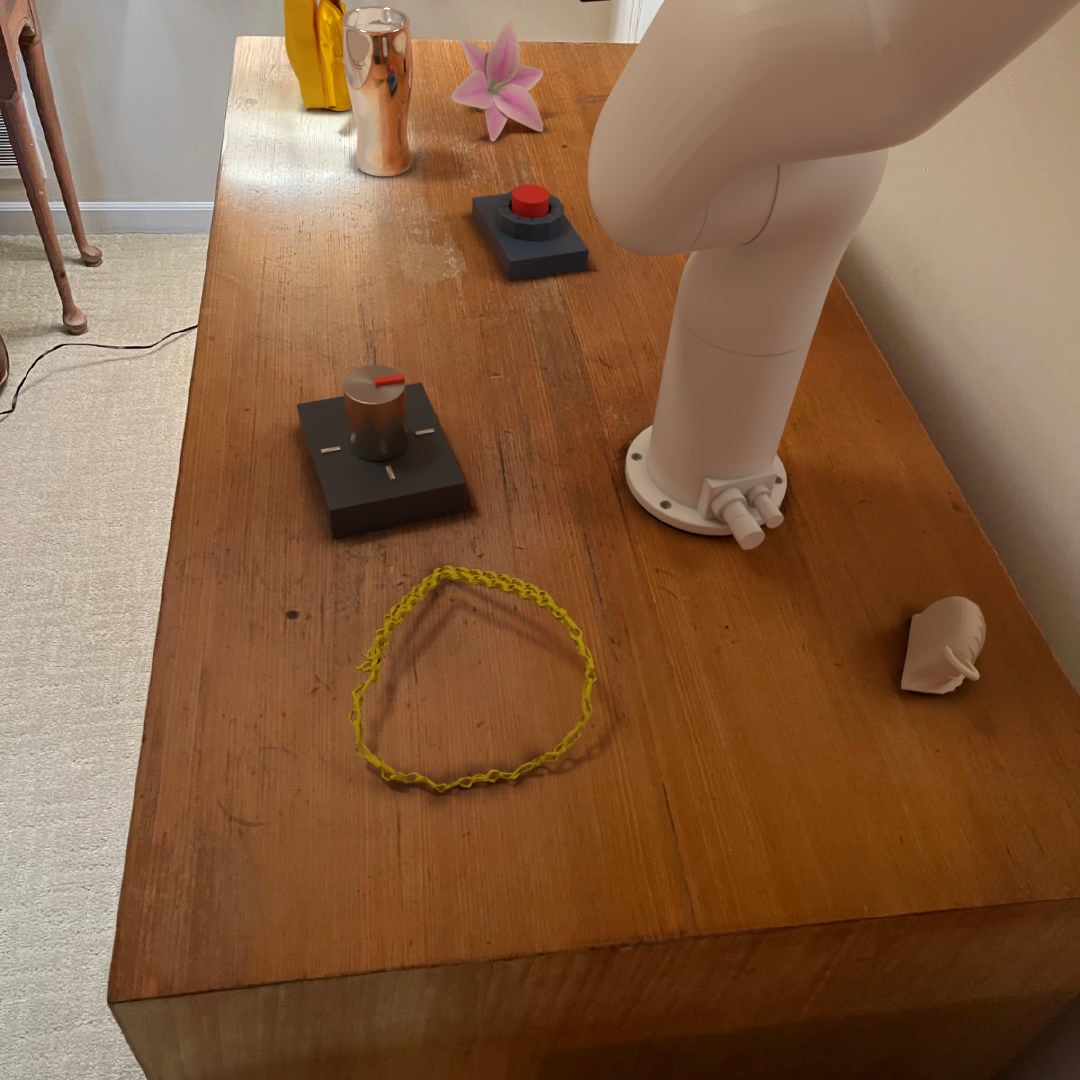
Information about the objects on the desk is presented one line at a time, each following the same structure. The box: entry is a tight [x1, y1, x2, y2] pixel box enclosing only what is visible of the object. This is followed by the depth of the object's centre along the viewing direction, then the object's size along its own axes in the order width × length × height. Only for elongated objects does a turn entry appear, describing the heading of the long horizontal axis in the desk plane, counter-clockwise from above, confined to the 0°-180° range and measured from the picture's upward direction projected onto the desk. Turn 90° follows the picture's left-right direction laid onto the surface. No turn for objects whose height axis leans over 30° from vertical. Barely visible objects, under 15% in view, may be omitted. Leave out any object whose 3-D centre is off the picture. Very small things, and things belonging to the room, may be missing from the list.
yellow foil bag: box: [283, 0, 352, 112], centre depth 112 cm, size 18×8×22 cm, turn 3°
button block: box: [471, 188, 590, 282], centre depth 101 cm, size 12×8×4 cm, turn 20°
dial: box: [342, 364, 408, 461], centre depth 74 cm, size 4×4×6 cm
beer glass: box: [342, 5, 414, 178], centre depth 106 cm, size 7×7×15 cm
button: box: [512, 183, 550, 218], centre depth 99 cm, size 4×4×2 cm
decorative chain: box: [347, 564, 598, 794], centre depth 64 cm, size 16×15×5 cm
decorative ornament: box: [900, 595, 987, 695], centre depth 67 cm, size 4×8×5 cm, turn 158°
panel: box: [296, 382, 467, 539], centre depth 78 cm, size 12×10×3 cm
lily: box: [450, 20, 544, 143], centre depth 117 cm, size 12×12×10 cm
